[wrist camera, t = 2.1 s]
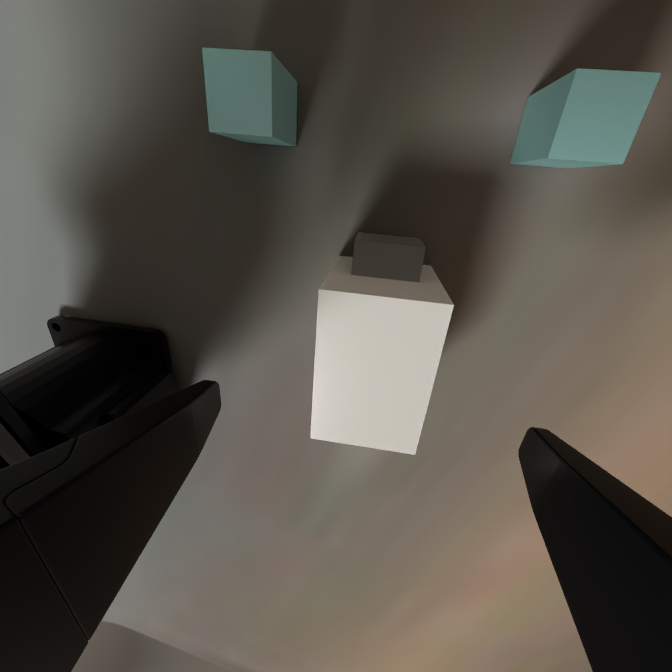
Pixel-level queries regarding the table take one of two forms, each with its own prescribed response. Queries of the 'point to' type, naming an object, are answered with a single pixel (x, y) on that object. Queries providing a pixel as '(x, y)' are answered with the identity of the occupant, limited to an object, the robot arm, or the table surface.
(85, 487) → the robot arm
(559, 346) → the table surface
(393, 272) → the block
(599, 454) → the table surface
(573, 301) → the table surface
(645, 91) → the teal block pair
